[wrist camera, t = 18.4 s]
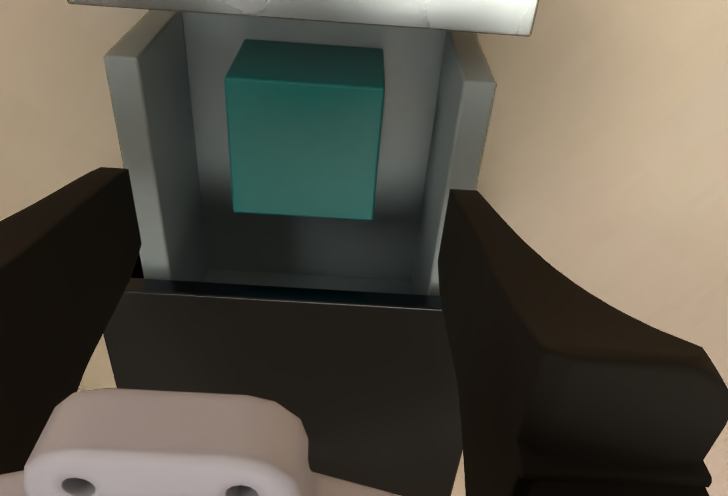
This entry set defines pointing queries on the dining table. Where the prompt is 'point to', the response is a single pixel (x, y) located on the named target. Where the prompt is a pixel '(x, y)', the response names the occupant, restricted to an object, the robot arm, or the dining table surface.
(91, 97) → the dining table surface
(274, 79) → the block
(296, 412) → the black storage box
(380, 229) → the drawer
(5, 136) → the dining table surface
